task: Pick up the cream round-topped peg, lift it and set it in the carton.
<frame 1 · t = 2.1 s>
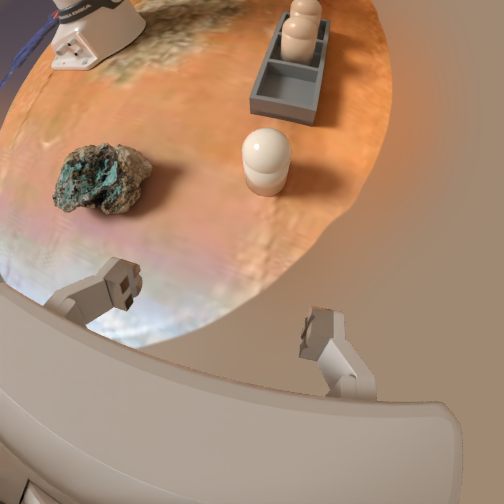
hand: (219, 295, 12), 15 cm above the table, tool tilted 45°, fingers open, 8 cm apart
mineral specimen: (112, 185, 30), on the table
cream round-topped peg: (265, 177, 29), on the table
carton: (295, 65, 31), on the table
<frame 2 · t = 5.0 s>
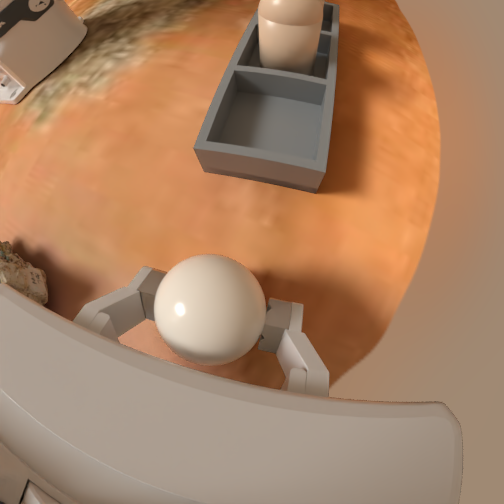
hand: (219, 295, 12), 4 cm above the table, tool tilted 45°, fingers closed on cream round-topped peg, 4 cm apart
mineral specimen: (22, 292, 17), on the table
cream round-topped peg: (229, 305, 16), on the table, touching gripper
carton: (286, 73, 19), on the table
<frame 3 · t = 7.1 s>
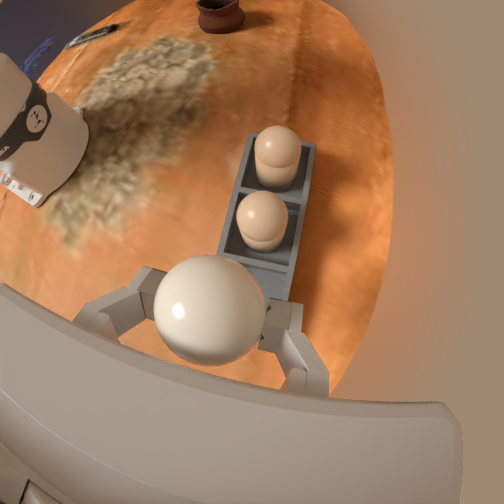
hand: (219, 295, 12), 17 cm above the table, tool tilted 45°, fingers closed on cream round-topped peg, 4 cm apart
ceramic pot: (223, 26, 38), on the table
cream round-topped peg: (228, 306, 16), point 13 cm above the table, touching gripper
carton: (263, 235, 30), on the table
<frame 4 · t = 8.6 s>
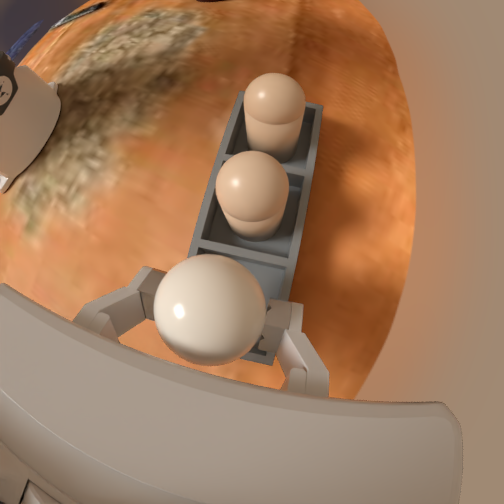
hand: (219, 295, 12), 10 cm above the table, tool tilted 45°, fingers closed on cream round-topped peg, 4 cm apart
cream round-topped peg: (229, 305, 16), point 5 cm above the table, touching gripper
carton: (255, 218, 23), on the table
when the fingers open (7 cm above the table, at t = 9.6 s): cream round-topped peg drops 2 cm, resting on carton.
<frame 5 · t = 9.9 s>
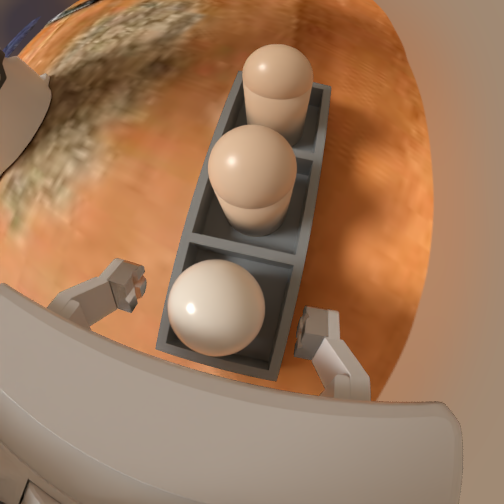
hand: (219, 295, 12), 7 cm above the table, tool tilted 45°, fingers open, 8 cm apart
cream round-topped peg: (231, 305, 18), point 1 cm above the table, touching carton
carton: (256, 210, 20), on the table
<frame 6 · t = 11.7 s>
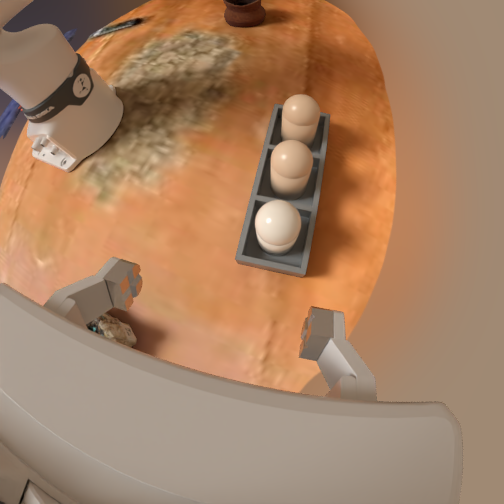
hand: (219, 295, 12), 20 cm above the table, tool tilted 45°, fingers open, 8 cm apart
mineral specimen: (104, 333, 32), on the table
ceramic pot: (245, 21, 43), on the table
cream round-topped peg: (276, 237, 32), point 1 cm above the table, touching carton
carton: (287, 186, 34), on the table
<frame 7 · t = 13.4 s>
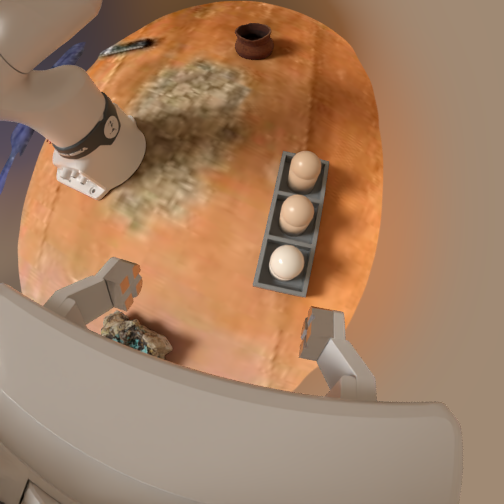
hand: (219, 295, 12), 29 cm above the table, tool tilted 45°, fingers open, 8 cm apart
mineral specimen: (141, 342, 41), on the table
ceramic pot: (254, 52, 50), on the table
cream round-topped peg: (283, 266, 41), point 1 cm above the table, touching carton
carton: (292, 224, 43), on the table
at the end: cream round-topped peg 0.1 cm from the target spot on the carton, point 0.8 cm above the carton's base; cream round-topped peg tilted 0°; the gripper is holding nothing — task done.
